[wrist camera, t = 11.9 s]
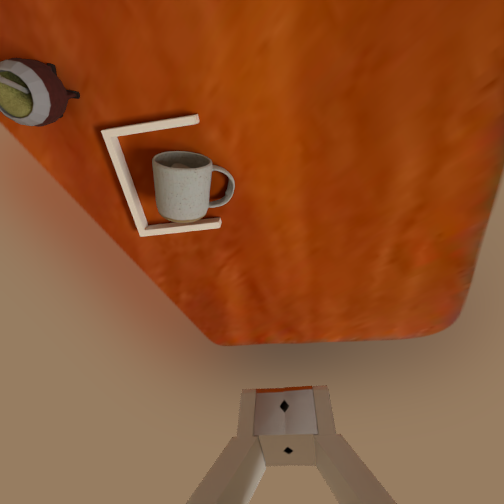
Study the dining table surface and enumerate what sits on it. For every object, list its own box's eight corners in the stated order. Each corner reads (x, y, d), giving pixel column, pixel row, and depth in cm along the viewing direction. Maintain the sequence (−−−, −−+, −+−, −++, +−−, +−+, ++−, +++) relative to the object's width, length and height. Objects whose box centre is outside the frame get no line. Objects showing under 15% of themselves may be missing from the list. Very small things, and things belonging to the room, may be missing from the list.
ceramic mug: (165, 202, 47) (148, 223, 41) (162, 148, 43) (143, 162, 37) (233, 209, 47) (227, 232, 41) (237, 156, 43) (231, 171, 37)
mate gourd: (35, 115, 42) (-71, 134, 29) (21, 47, 38) (-109, 34, 25) (89, 124, 42) (7, 147, 29) (81, 57, 38) (-18, 49, 25)
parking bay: (107, 128, 42) (100, 130, 41) (197, 113, 41) (194, 115, 39) (144, 231, 50) (140, 236, 49) (221, 222, 48) (219, 227, 47)
